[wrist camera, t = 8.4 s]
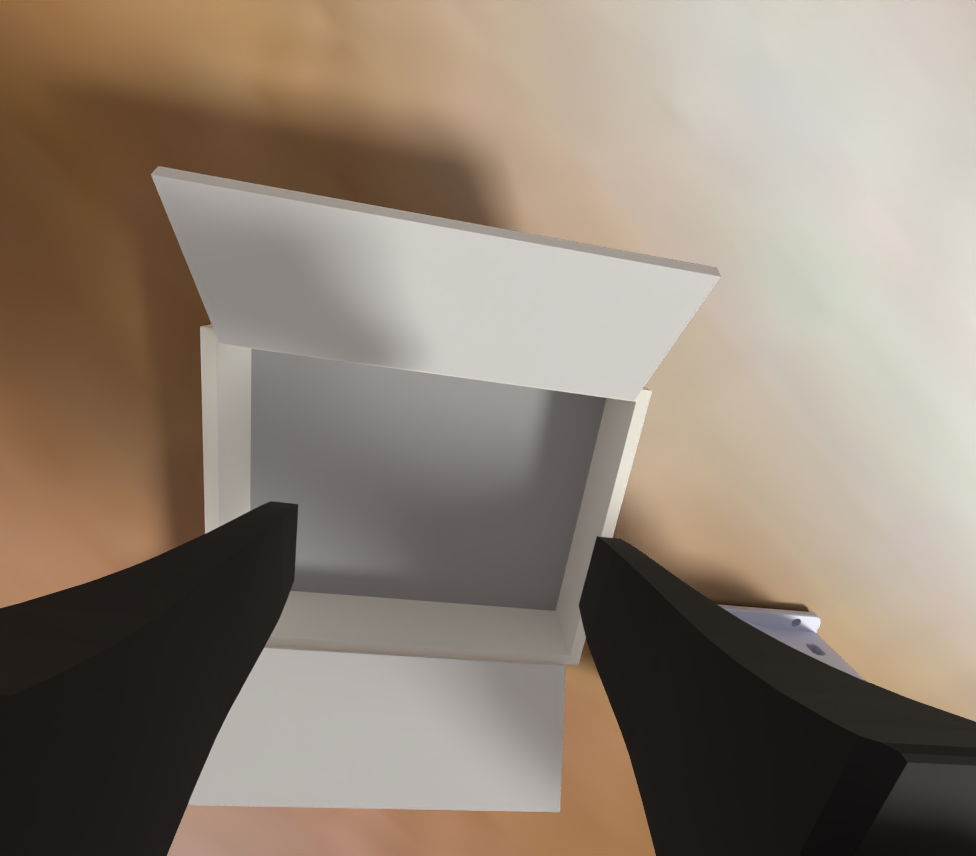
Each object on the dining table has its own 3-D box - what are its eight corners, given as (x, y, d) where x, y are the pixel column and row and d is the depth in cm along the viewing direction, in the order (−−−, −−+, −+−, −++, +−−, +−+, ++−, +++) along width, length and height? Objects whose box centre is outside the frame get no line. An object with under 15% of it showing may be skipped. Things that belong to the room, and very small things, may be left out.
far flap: (565, 665, 21) (562, 664, 21) (223, 645, 19) (226, 643, 19) (559, 812, 19) (557, 806, 20) (188, 804, 17) (193, 799, 18)
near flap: (219, 342, 15) (223, 334, 15) (634, 400, 17) (632, 392, 17) (150, 174, 11) (158, 165, 11) (720, 276, 13) (717, 267, 13)
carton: (619, 372, 21) (651, 390, 18) (560, 612, 25) (578, 665, 21) (243, 317, 19) (200, 326, 15) (242, 588, 23) (207, 642, 19)
